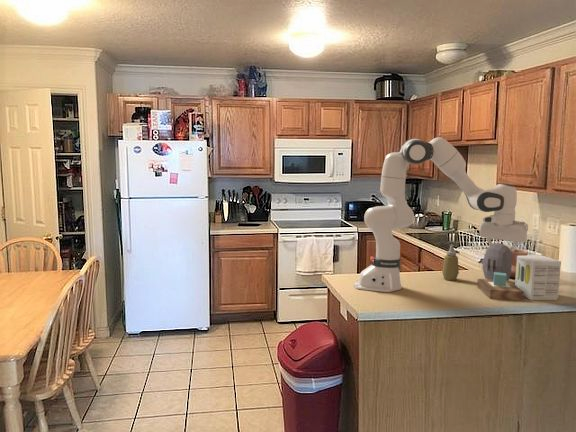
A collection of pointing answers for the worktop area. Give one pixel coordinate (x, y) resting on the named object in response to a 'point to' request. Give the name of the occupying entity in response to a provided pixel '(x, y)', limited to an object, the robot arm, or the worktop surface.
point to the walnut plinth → (500, 290)
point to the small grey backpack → (497, 261)
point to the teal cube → (499, 279)
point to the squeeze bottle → (450, 265)
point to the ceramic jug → (514, 260)
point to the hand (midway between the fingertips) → (501, 249)
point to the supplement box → (538, 277)
